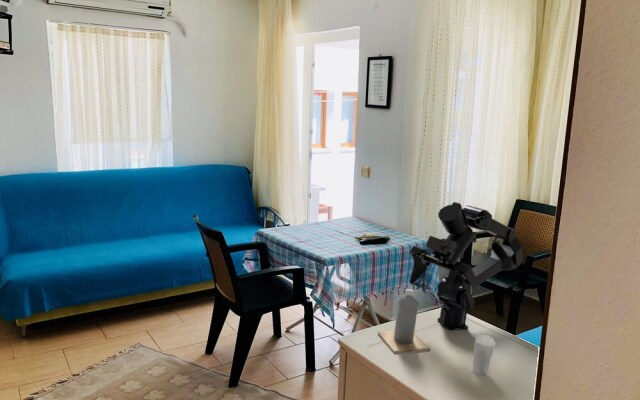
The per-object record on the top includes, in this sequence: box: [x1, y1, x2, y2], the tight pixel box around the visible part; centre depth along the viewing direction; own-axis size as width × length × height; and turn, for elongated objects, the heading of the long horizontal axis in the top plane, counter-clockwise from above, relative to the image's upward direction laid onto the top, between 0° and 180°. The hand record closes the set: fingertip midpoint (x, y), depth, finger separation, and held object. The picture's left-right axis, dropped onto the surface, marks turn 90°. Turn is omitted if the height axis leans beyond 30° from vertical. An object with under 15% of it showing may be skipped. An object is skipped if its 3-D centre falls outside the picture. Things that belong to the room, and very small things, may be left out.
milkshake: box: [472, 334, 501, 376], centre depth 118 cm, size 4×5×10 cm
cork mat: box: [377, 330, 431, 354], centre depth 131 cm, size 10×10×1 cm
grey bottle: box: [394, 288, 419, 344], centre depth 129 cm, size 5×5×14 cm
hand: (423, 289), depth 131 cm, fingers open, 9 cm apart
